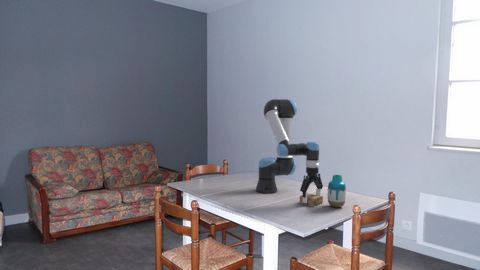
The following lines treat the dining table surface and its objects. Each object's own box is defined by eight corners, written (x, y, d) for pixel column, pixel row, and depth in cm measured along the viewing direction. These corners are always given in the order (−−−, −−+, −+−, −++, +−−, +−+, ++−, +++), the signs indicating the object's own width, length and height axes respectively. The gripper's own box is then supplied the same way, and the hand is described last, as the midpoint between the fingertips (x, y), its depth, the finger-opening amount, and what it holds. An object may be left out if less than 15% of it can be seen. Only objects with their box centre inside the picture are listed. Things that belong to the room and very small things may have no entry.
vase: (347, 206, 220) (348, 175, 218) (342, 210, 210) (343, 177, 209) (330, 203, 225) (331, 173, 223) (324, 207, 216) (326, 175, 214)
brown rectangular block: (299, 203, 224) (299, 195, 224) (307, 200, 231) (307, 193, 231) (315, 207, 217) (315, 199, 217) (322, 204, 224) (322, 196, 223)
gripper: (304, 169, 211) (303, 205, 212) (329, 165, 228) (328, 198, 229) (294, 168, 216) (293, 202, 218) (319, 164, 233) (318, 196, 235)
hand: (311, 200), depth 223 cm, fingers open, 13 cm apart
